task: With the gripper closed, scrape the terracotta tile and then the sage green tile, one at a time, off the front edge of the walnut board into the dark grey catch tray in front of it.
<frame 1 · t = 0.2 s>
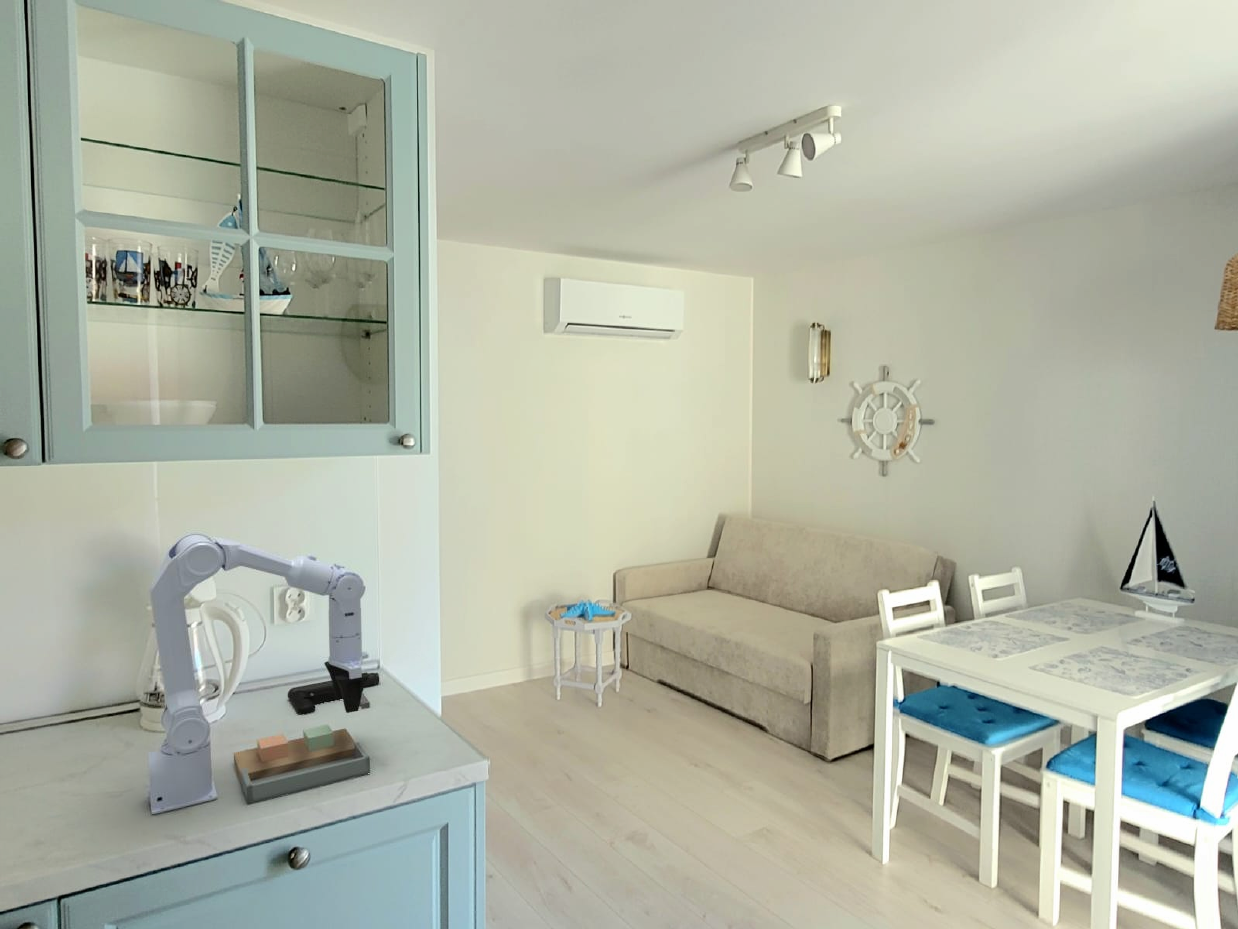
hand: (347, 704, 147), 10 cm above the worktop, tool pointing down, fingers open, 7 cm apart
terracotta tile: (272, 754, 143), point 2 cm above the worktop, touching walnut board
walnut board: (297, 760, 145), on the worktop
door handle: (340, 702, 175), on the worktop
sage tile: (318, 744, 148), point 2 cm above the worktop, touching walnut board
catch tray: (306, 779, 138), on the worktop
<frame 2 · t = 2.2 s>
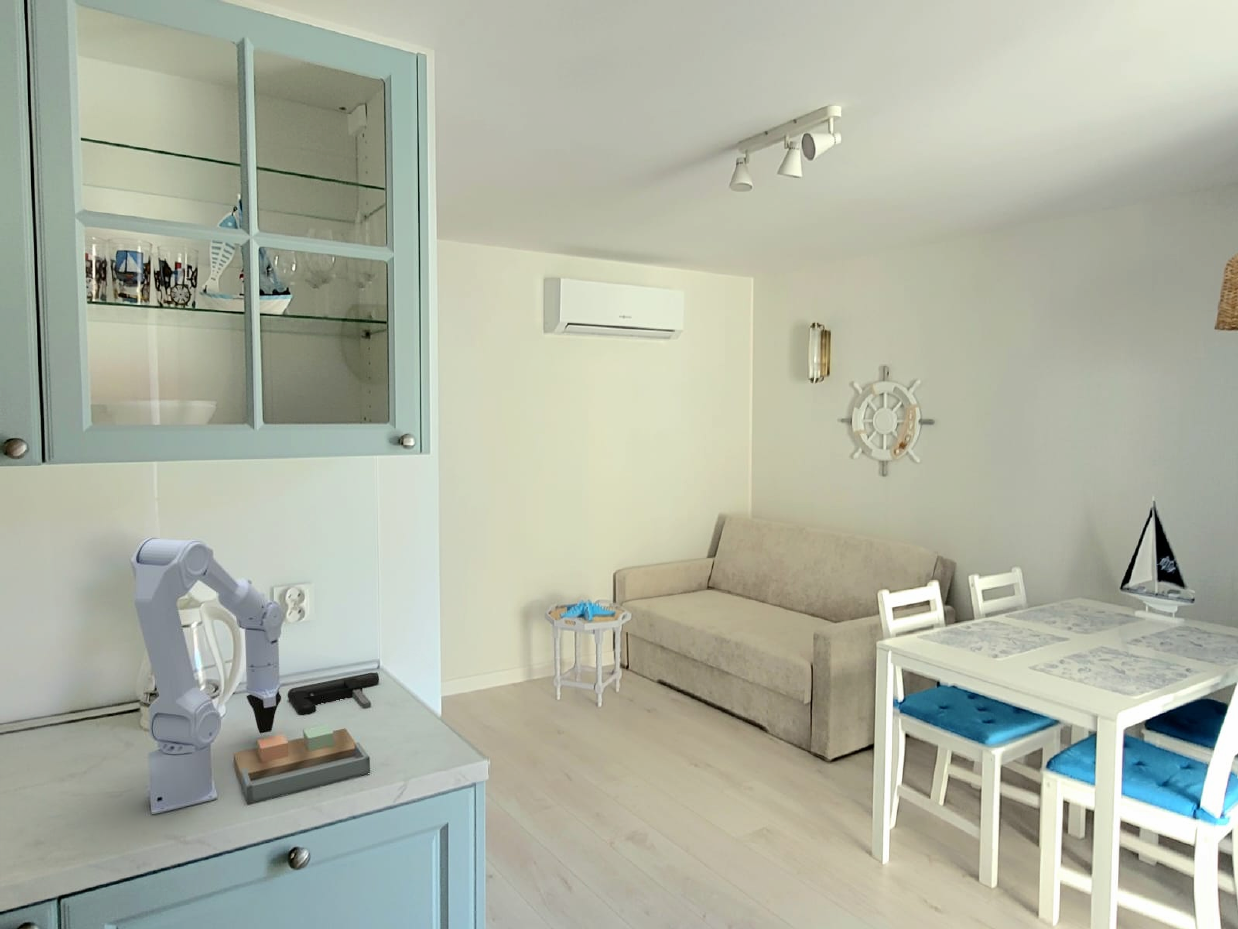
hand: (265, 731, 151), 3 cm above the worktop, tool pointing down, fingers closed
nothing on the worktop moved.
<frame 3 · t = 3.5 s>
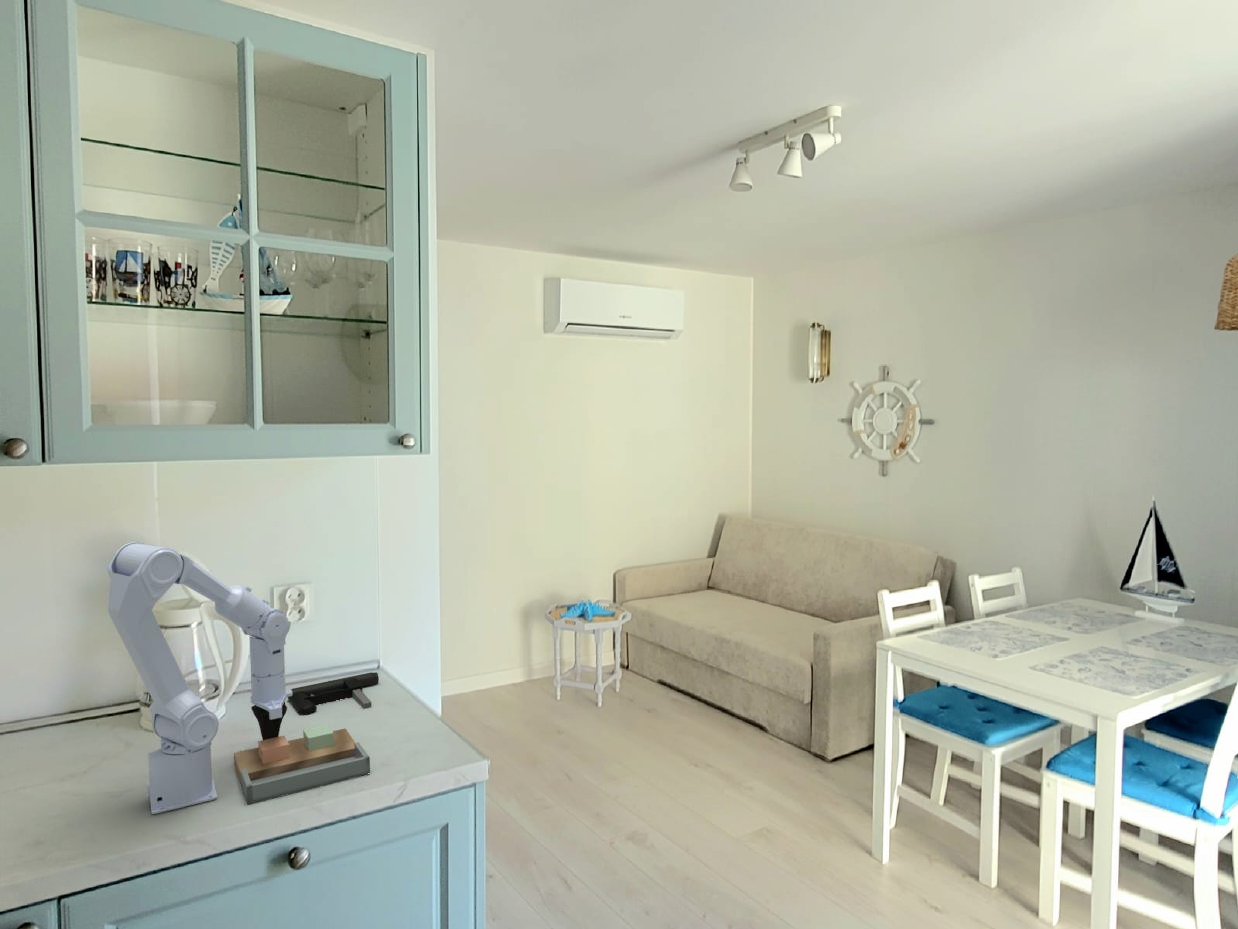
hand: (270, 743, 145), 3 cm above the worktop, tool pointing down, fingers closed
terracotta tile: (274, 756, 143), point 2 cm above the worktop, touching gripper
everything else where it was.
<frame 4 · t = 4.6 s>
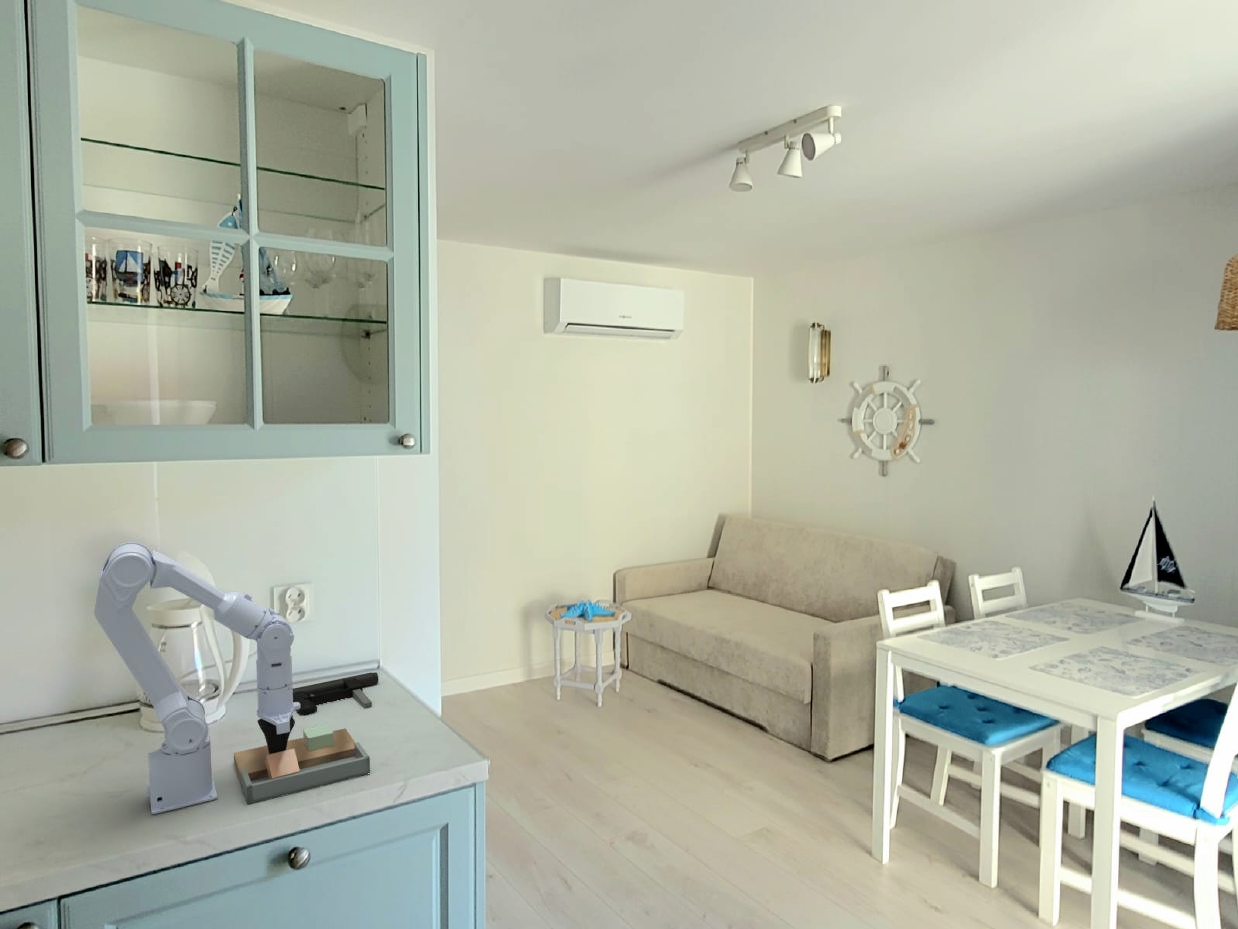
hand: (277, 758, 139), 3 cm above the worktop, tool pointing down, fingers closed
terracotta tile: (281, 770, 137), point 2 cm above the worktop, tilted 37°, touching gripper
everything else where it was.
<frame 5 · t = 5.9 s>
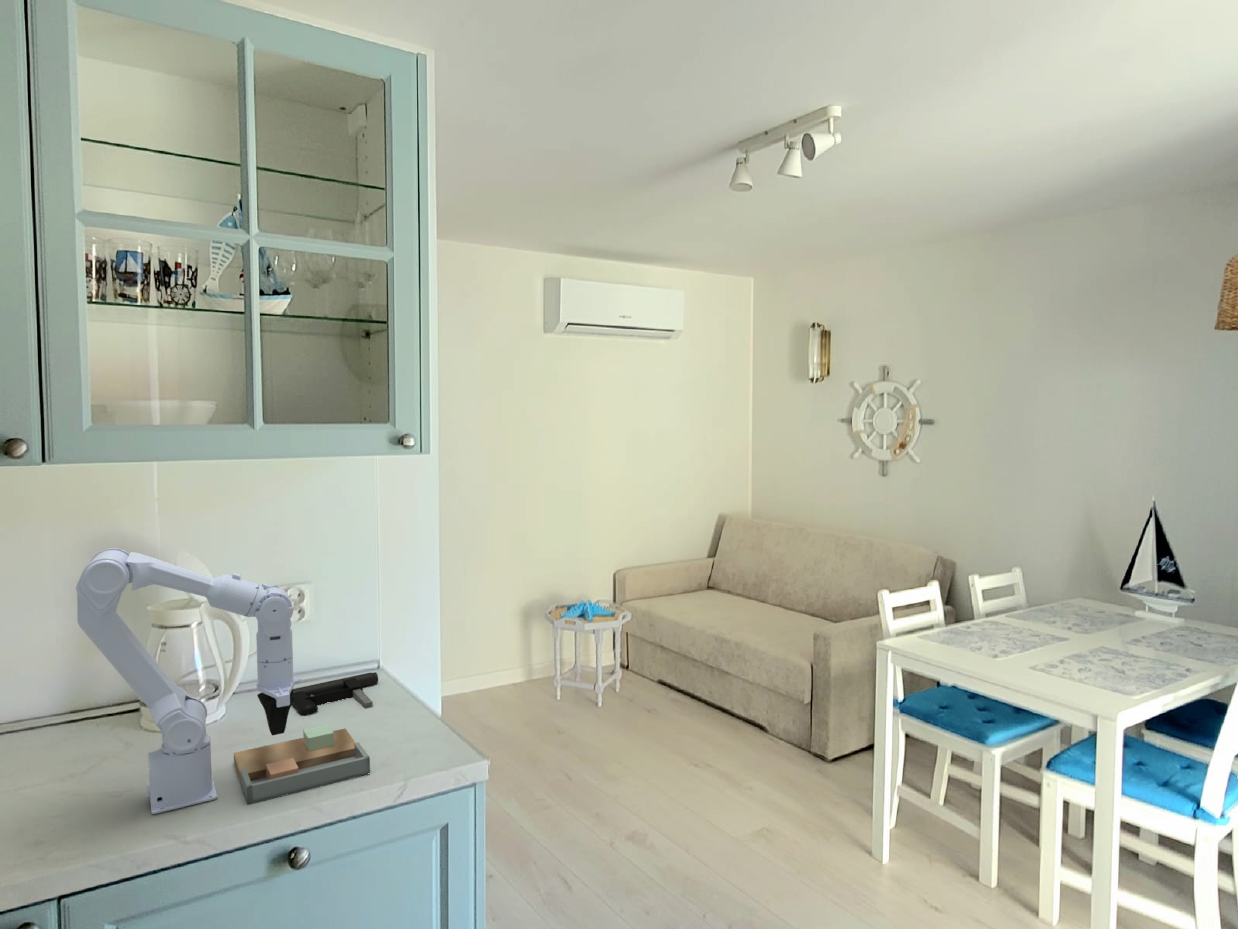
hand: (277, 733, 138), 8 cm above the worktop, tool pointing down, fingers closed
terracotta tile: (282, 780, 137), resting on catch tray
everything else where it was.
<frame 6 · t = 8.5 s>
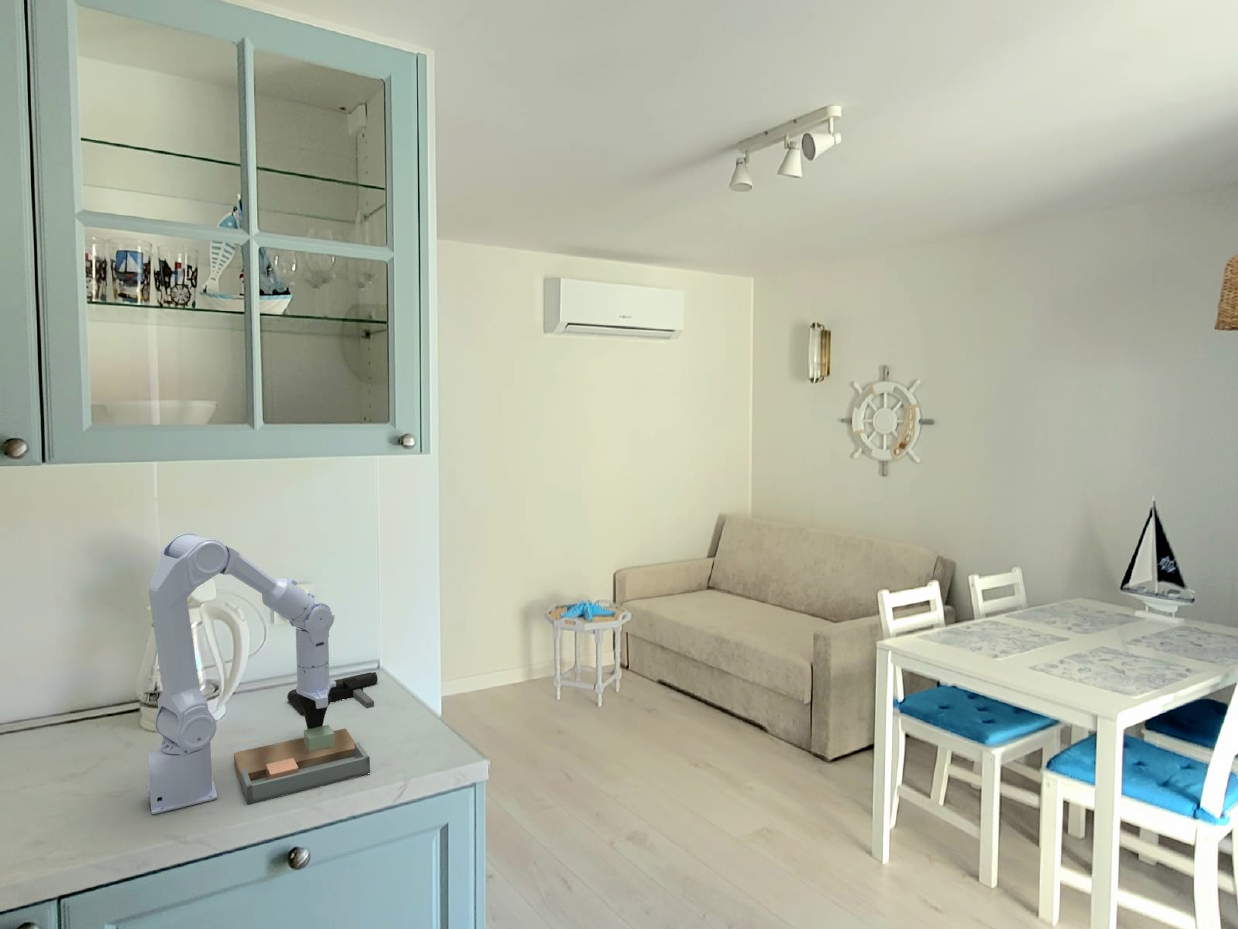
hand: (315, 732, 150), 3 cm above the worktop, tool pointing down, fingers closed
sage tile: (319, 744, 148), point 2 cm above the worktop, touching gripper, walnut board
everything else where it was.
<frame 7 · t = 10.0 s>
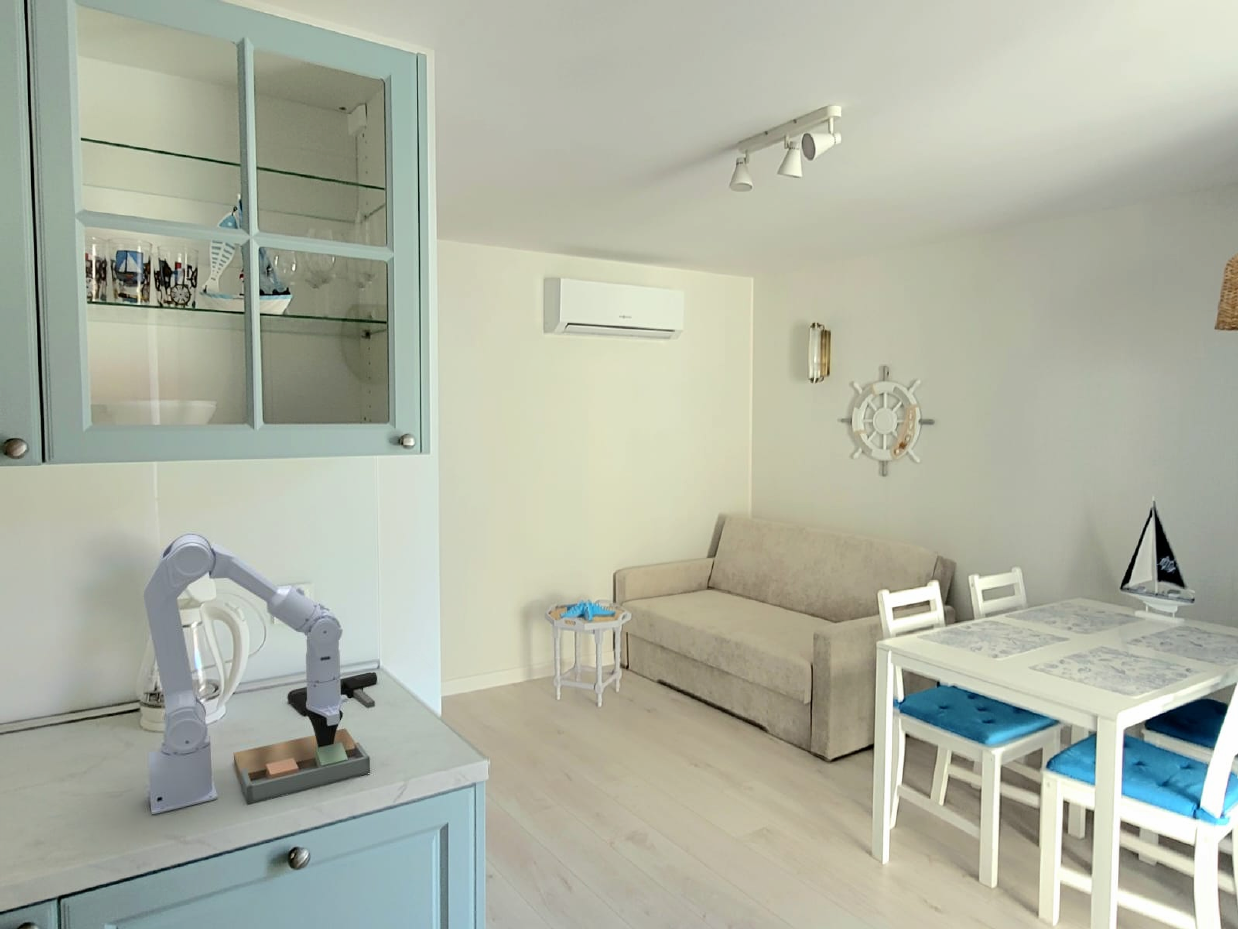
hand: (325, 749, 143), 3 cm above the worktop, tool pointing down, fingers closed
sage tile: (331, 764, 141), point 1 cm above the worktop, tilted 19°, touching gripper
everything else where it was.
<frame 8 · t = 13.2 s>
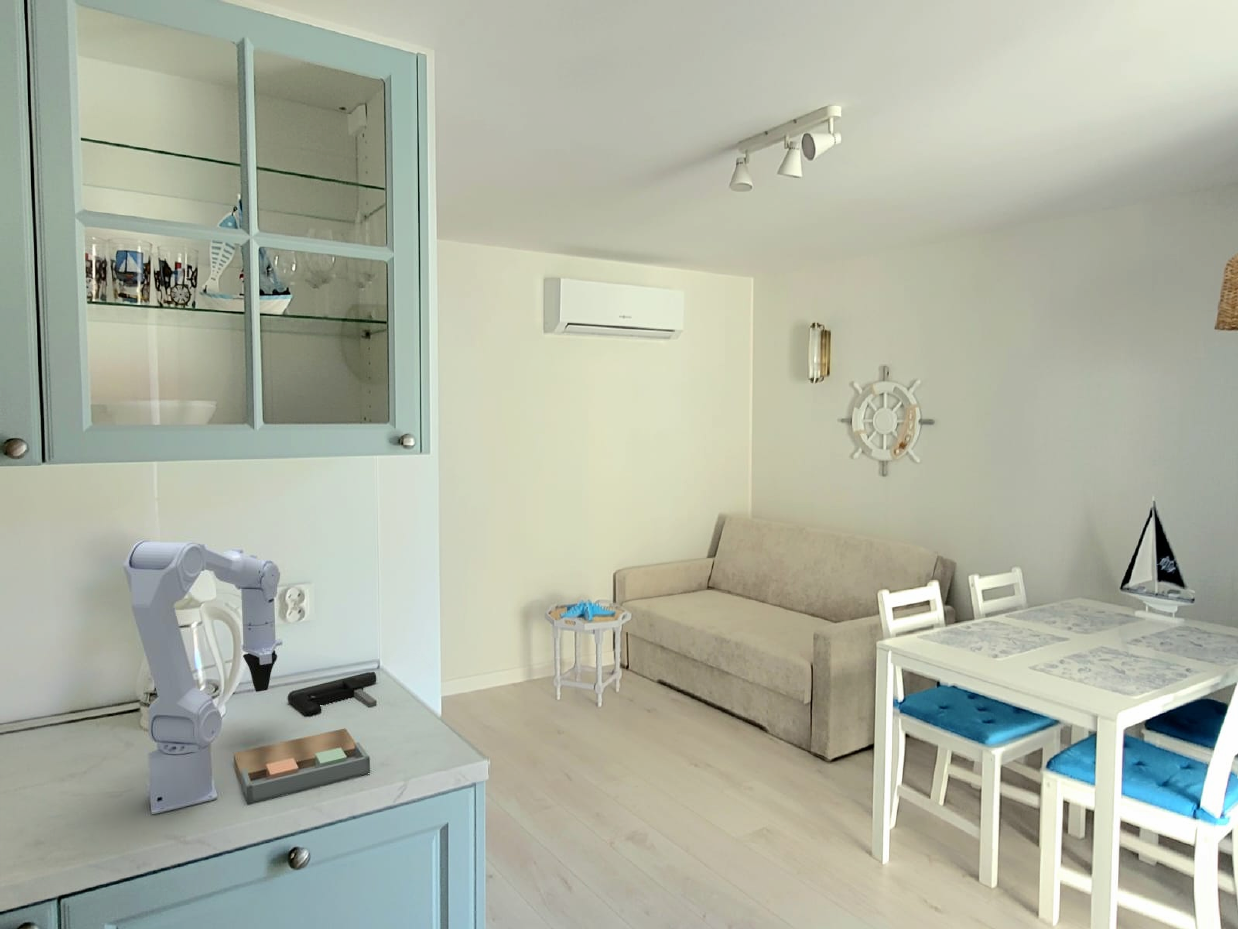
hand: (261, 690, 152), 10 cm above the worktop, tool pointing down, fingers closed
sage tile: (331, 768, 141), resting on catch tray
at the end: terracotta tile inside the target area (4.0 cm from its centre), point 0.5 cm above the worktop; sage tile inside the target area (4.5 cm from its centre), point 0.5 cm above the worktop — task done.
